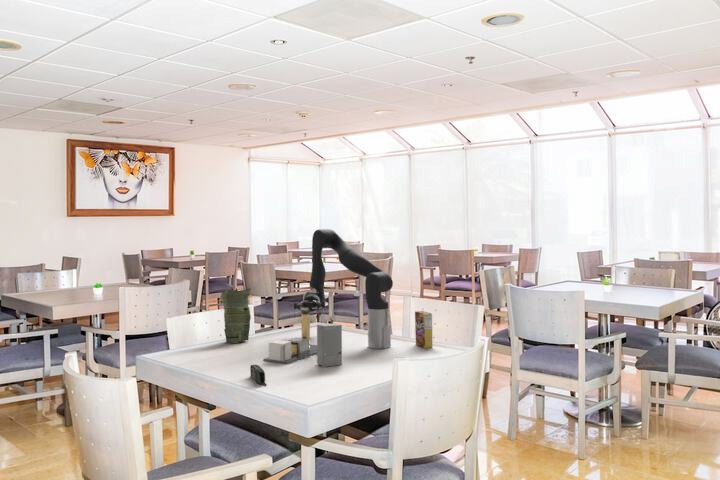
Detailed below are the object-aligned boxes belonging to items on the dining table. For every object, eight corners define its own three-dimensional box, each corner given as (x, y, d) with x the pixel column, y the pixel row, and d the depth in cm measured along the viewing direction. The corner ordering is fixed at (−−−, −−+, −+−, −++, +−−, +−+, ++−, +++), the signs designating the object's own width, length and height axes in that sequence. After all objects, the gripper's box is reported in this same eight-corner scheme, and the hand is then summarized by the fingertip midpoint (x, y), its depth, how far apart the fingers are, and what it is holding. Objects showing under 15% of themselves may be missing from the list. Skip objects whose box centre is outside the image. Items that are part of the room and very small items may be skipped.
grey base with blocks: (310, 346, 271) (309, 331, 271) (332, 348, 265) (332, 334, 265) (263, 360, 243) (263, 344, 243) (287, 364, 237) (287, 347, 237)
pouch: (219, 342, 281) (218, 289, 280) (234, 338, 292) (233, 286, 291) (239, 344, 276) (239, 290, 276) (254, 339, 287) (253, 287, 287)
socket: (277, 356, 247) (277, 339, 247) (291, 358, 243) (291, 341, 243) (269, 359, 242) (268, 342, 242) (282, 361, 239) (282, 344, 239)
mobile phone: (248, 364, 218) (259, 372, 204) (257, 363, 219) (268, 371, 206) (249, 377, 218) (259, 386, 205) (257, 376, 219) (268, 385, 206)
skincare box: (323, 367, 231) (322, 326, 230) (316, 363, 237) (315, 323, 237) (343, 365, 235) (342, 324, 234) (335, 361, 241) (335, 321, 241)
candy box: (414, 344, 272) (414, 311, 272) (423, 343, 274) (422, 310, 273) (424, 348, 264) (424, 313, 264) (432, 347, 266) (432, 313, 265)
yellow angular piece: (304, 348, 261) (304, 309, 260) (312, 349, 259) (311, 309, 258) (275, 357, 244) (275, 315, 243) (283, 358, 242) (283, 316, 241)
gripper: (296, 295, 285) (292, 298, 269) (326, 294, 285) (324, 297, 268) (296, 311, 285) (292, 315, 269) (326, 310, 285) (324, 314, 268)
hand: (308, 306), depth 269 cm, fingers open, 8 cm apart
